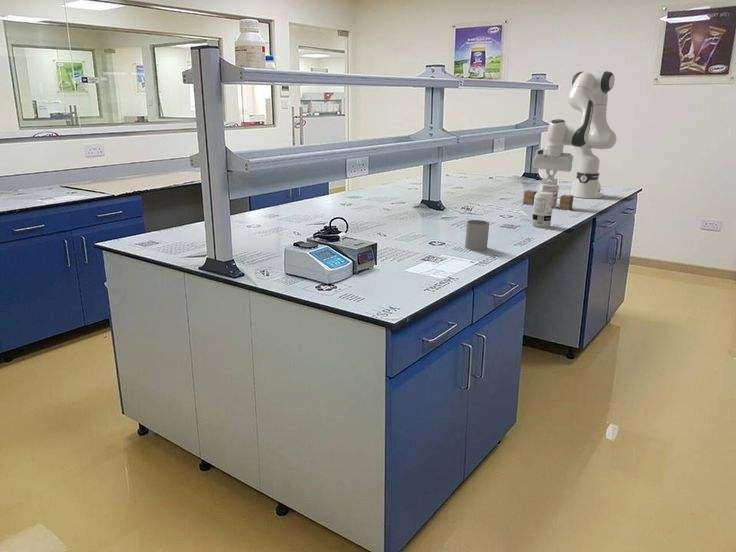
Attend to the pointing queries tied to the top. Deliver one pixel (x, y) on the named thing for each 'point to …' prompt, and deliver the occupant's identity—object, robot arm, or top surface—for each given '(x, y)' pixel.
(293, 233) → the top surface
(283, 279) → the top surface
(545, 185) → the ink box
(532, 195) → the digit block seven
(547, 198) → the supplement can
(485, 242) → the cup
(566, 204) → the digit block one
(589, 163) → the robot arm
